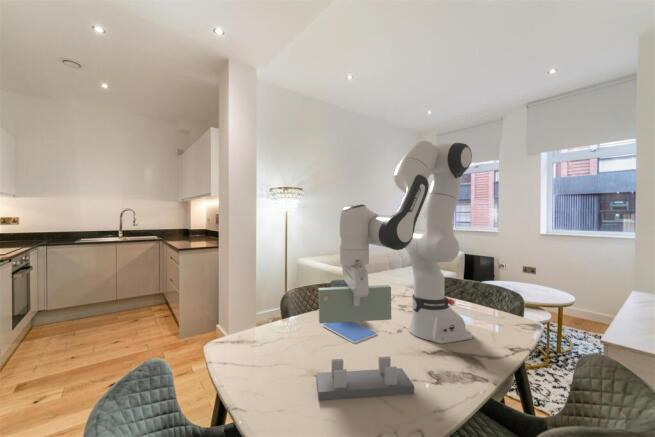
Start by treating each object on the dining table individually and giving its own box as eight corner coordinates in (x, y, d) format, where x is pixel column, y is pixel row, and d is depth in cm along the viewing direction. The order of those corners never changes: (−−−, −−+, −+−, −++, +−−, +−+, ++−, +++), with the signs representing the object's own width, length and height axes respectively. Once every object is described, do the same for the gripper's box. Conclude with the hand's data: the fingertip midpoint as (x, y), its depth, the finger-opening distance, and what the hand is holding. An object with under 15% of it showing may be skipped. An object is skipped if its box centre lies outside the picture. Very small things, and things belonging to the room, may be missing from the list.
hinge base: (401, 375, 75) (401, 353, 75) (414, 393, 67) (414, 370, 67) (316, 380, 73) (316, 358, 73) (318, 400, 65) (318, 375, 65)
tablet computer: (378, 336, 101) (378, 332, 101) (354, 345, 94) (354, 342, 94) (344, 320, 117) (344, 317, 117) (321, 327, 109) (321, 324, 109)
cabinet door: (388, 316, 84) (388, 284, 84) (393, 321, 81) (392, 288, 80) (318, 320, 82) (318, 287, 82) (319, 325, 78) (319, 291, 78)
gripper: (374, 263, 72) (374, 314, 72) (357, 253, 92) (357, 293, 92) (350, 264, 71) (351, 316, 71) (339, 253, 92) (339, 294, 92)
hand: (355, 303), depth 82 cm, fingers closed on cabinet door, 2 cm apart
